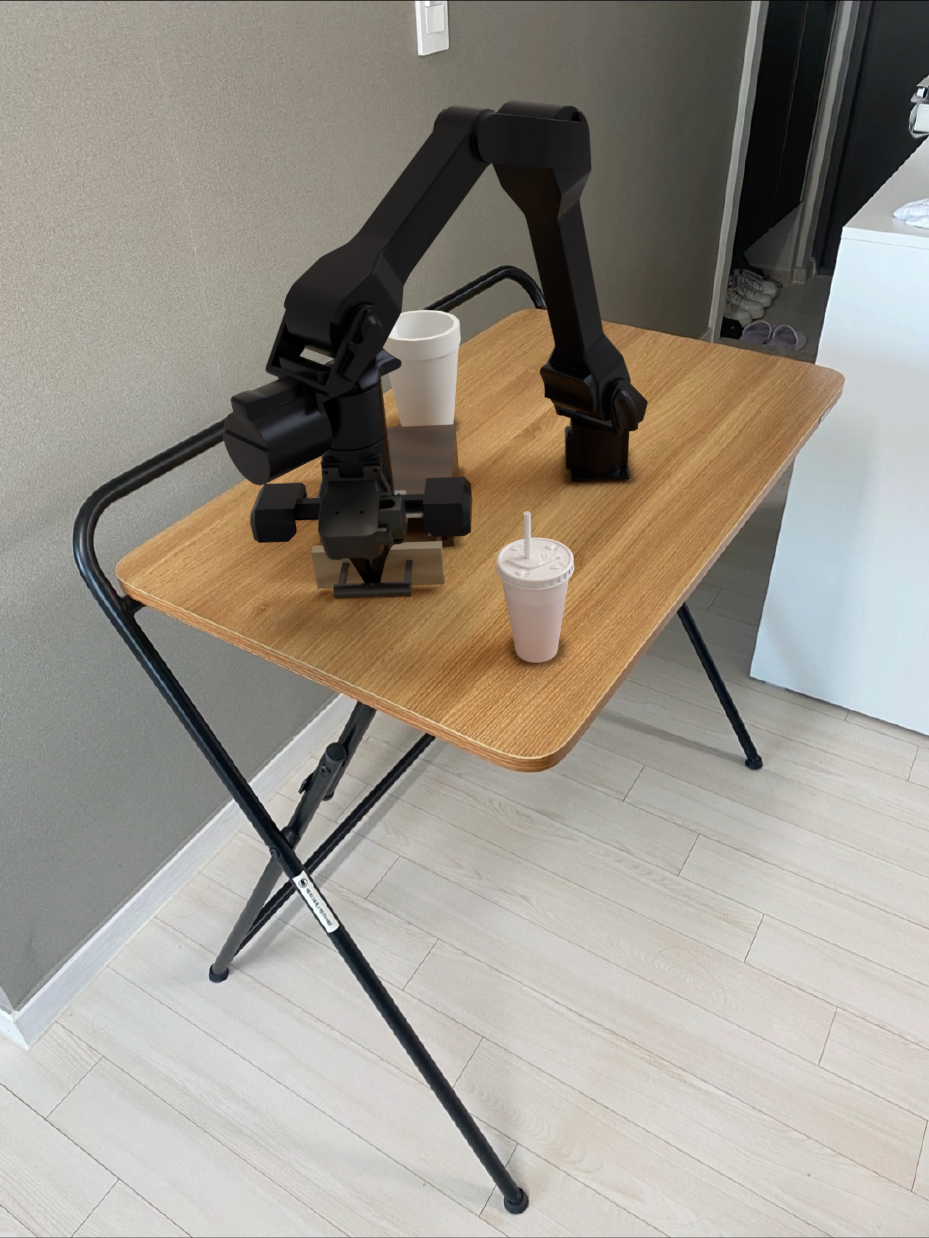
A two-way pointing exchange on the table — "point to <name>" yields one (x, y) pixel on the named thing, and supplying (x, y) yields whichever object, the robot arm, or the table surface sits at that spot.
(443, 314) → the foam cup
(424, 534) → the drawer
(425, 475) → the cabinet
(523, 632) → the smoothie
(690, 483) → the table surface
